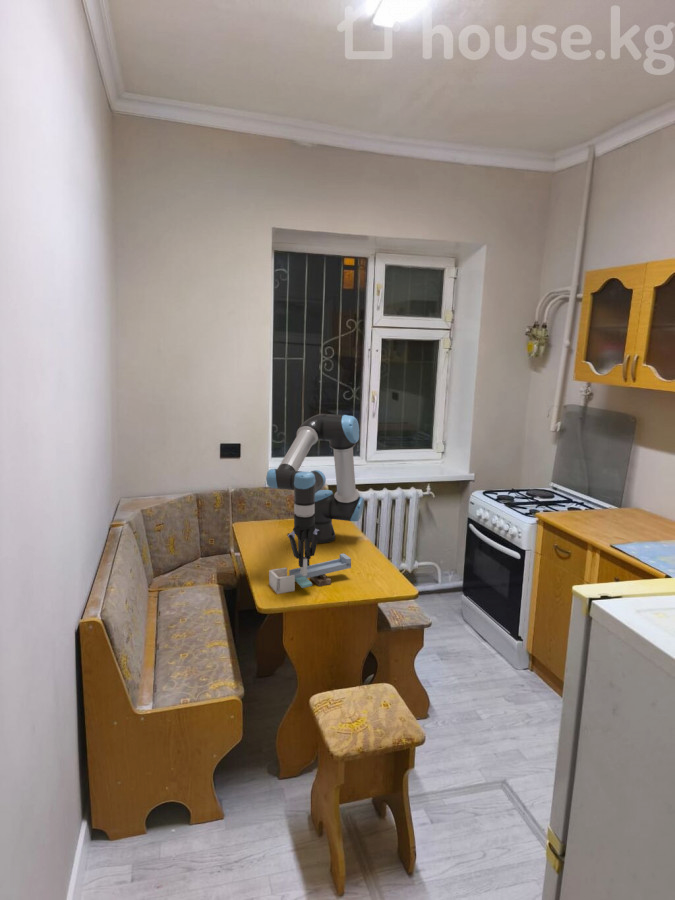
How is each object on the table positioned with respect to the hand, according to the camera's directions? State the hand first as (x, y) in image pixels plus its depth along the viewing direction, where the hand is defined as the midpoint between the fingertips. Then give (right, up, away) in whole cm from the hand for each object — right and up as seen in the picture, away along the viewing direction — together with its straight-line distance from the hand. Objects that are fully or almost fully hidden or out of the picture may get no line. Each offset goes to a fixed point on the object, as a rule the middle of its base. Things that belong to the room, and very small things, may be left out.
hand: (303, 574), depth 218 cm
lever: (+7, -2, +7) cm, 11 cm away
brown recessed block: (+6, -5, +11) cm, 13 cm away
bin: (-9, -6, +4) cm, 11 cm away
